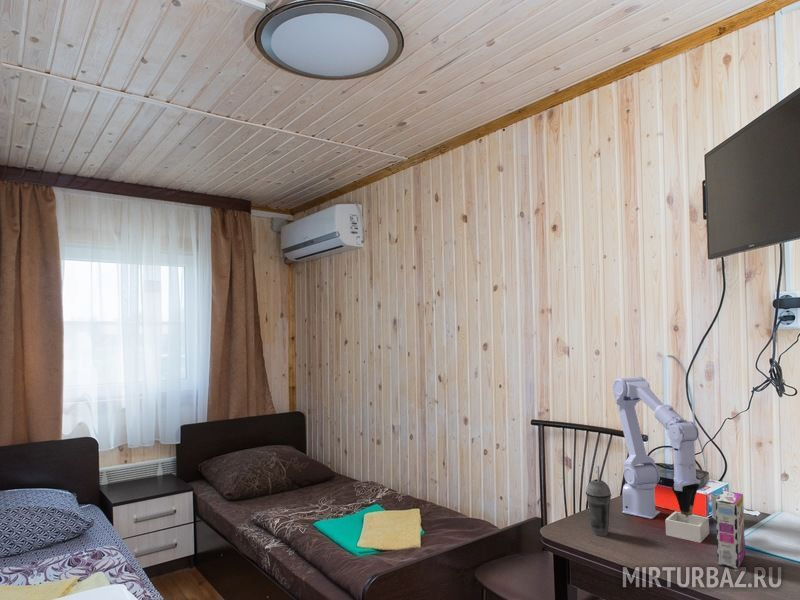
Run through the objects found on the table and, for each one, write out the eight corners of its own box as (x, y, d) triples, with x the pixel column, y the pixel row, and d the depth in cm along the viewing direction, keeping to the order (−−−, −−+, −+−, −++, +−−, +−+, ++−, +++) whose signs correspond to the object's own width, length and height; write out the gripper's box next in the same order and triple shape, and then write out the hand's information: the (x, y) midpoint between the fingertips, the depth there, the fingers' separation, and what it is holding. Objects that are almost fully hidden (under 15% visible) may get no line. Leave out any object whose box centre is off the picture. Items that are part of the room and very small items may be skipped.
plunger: (670, 533, 163) (669, 505, 163) (678, 526, 168) (677, 499, 169) (697, 539, 158) (696, 510, 159) (704, 532, 163) (703, 504, 164)
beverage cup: (609, 528, 169) (606, 462, 170) (616, 537, 162) (613, 468, 163) (584, 528, 170) (582, 462, 171) (590, 537, 162) (587, 468, 163)
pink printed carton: (740, 570, 139) (736, 503, 140) (717, 565, 142) (714, 500, 143) (746, 555, 148) (743, 492, 148) (725, 551, 151) (722, 489, 152)
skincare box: (742, 524, 170) (741, 500, 170) (722, 524, 170) (721, 500, 171) (730, 517, 176) (729, 494, 176) (711, 518, 176) (710, 494, 177)
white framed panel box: (666, 535, 163) (665, 519, 163) (677, 524, 171) (677, 509, 171) (700, 542, 157) (699, 526, 157) (711, 531, 165) (710, 515, 165)
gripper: (692, 470, 156) (694, 519, 155) (706, 460, 167) (708, 506, 166) (665, 466, 161) (667, 514, 160) (680, 457, 172) (682, 502, 171)
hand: (686, 510), depth 164 cm, fingers closed on plunger, 3 cm apart
